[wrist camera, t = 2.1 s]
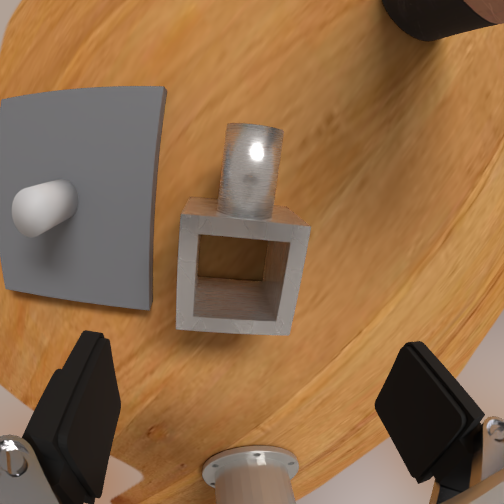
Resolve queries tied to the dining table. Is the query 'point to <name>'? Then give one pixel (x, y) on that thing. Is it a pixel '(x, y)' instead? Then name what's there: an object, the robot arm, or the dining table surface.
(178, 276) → the grey hollow block
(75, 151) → the plate
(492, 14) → the travel mug
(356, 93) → the dining table surface
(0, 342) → the dining table surface
